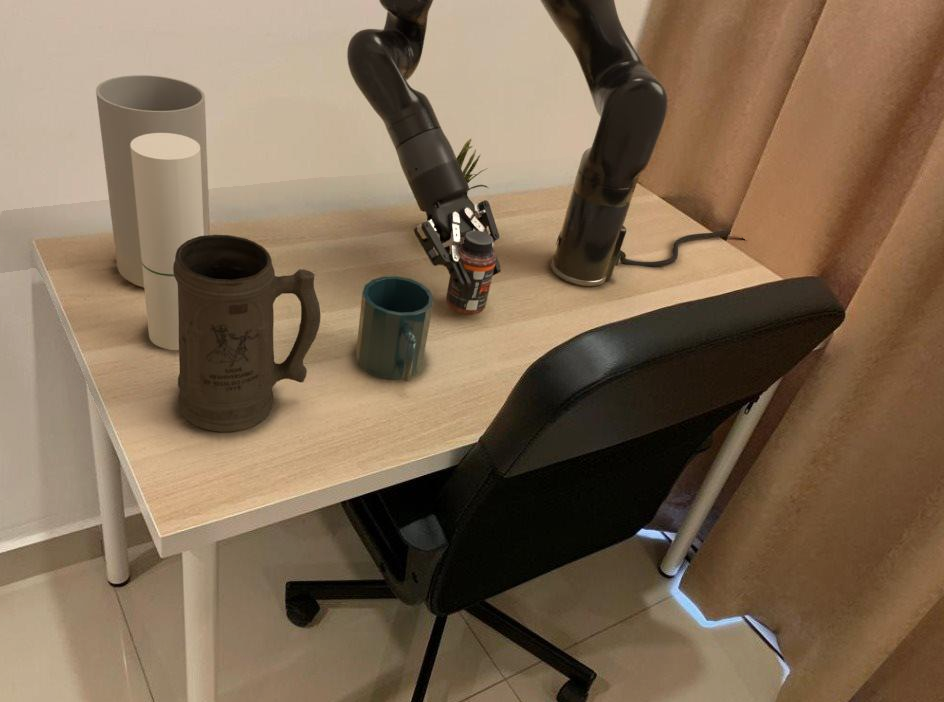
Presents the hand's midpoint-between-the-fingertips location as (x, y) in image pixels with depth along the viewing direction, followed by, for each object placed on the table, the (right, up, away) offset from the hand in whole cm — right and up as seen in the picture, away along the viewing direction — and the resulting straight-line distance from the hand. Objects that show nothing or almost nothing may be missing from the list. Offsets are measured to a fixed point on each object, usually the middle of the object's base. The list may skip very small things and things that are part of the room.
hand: (480, 280), depth 109 cm
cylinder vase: (-45, +2, +1) cm, 45 cm away
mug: (-12, -12, -9) cm, 19 cm away
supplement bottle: (-2, -3, +4) cm, 6 cm away
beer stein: (-28, -17, -18) cm, 37 cm away
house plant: (-6, +11, +23) cm, 26 cm away
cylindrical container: (-39, -8, -10) cm, 41 cm away
